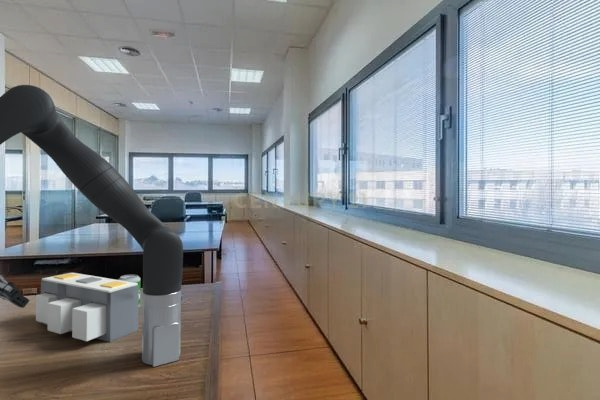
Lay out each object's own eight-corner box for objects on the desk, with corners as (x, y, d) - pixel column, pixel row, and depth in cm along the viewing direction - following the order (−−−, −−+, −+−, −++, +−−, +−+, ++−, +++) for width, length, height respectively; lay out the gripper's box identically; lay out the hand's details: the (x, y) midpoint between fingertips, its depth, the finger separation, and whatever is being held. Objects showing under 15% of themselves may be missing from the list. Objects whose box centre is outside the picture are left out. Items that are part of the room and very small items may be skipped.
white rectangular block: (48, 323, 104) (48, 297, 103) (35, 320, 106) (36, 295, 106) (77, 314, 112) (77, 290, 112) (65, 311, 114) (65, 288, 114)
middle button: (60, 334, 96) (60, 305, 96) (47, 330, 99) (47, 302, 99) (91, 323, 105) (91, 297, 105) (78, 320, 107) (78, 294, 107)
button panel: (110, 342, 96) (110, 289, 96) (40, 323, 109) (41, 277, 109) (138, 330, 105) (138, 282, 105) (70, 314, 118) (71, 271, 118)
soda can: (133, 313, 120) (134, 279, 119) (112, 312, 120) (113, 278, 120) (144, 306, 127) (144, 274, 127) (124, 305, 127) (124, 273, 127)
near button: (86, 341, 92) (86, 311, 92) (72, 337, 94) (72, 308, 94) (116, 329, 100) (116, 302, 100) (102, 326, 103) (102, 299, 103)
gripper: (-10, 251, 72) (53, 293, 84) (-41, 247, 78) (21, 287, 89) (-43, 282, 67) (28, 322, 79) (-74, 275, 73) (-3, 314, 84)
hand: (24, 303), depth 84 cm, fingers closed
